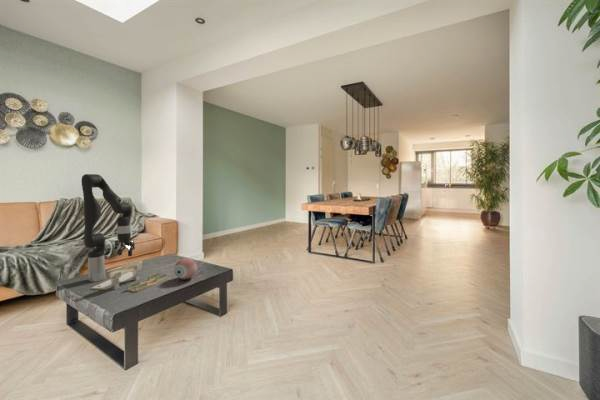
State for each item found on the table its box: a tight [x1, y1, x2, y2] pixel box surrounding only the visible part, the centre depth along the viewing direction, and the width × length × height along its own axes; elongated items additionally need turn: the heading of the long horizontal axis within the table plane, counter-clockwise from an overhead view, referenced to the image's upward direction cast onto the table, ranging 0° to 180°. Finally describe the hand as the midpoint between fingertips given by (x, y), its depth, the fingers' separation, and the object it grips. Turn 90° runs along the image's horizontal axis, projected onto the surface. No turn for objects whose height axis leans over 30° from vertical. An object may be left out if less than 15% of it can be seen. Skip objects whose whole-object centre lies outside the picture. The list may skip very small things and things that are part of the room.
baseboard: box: [90, 271, 133, 291], centre depth 186 cm, size 31×3×12 cm
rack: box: [125, 272, 168, 293], centre depth 180 cm, size 9×26×3 cm, turn 166°
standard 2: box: [131, 264, 143, 282], centre depth 187 cm, size 6×4×11 cm, turn 76°
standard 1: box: [110, 272, 121, 291], centre depth 172 cm, size 6×4×11 cm, turn 76°
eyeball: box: [173, 257, 198, 280], centre depth 189 cm, size 15×15×15 cm
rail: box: [106, 260, 144, 280], centre depth 179 cm, size 4×24×5 cm, turn 166°
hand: (125, 255), depth 178 cm, fingers open, 8 cm apart
